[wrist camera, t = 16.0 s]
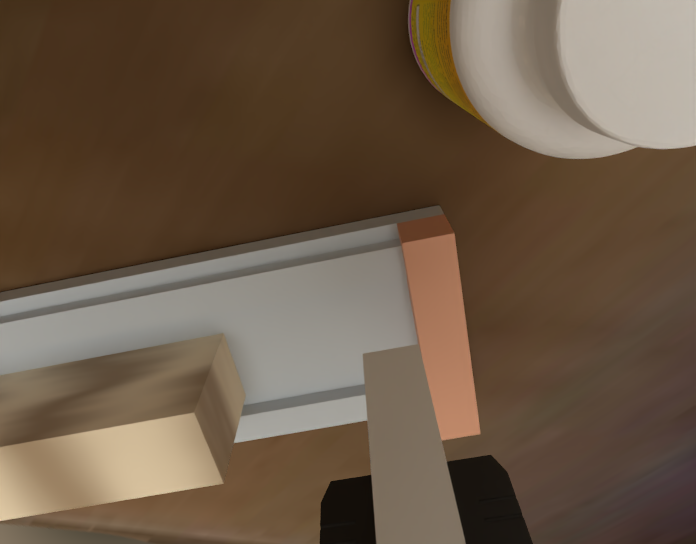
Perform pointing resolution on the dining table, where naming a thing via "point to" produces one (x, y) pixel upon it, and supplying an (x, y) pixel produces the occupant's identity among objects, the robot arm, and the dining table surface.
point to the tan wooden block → (118, 426)
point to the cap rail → (275, 318)
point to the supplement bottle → (565, 70)
